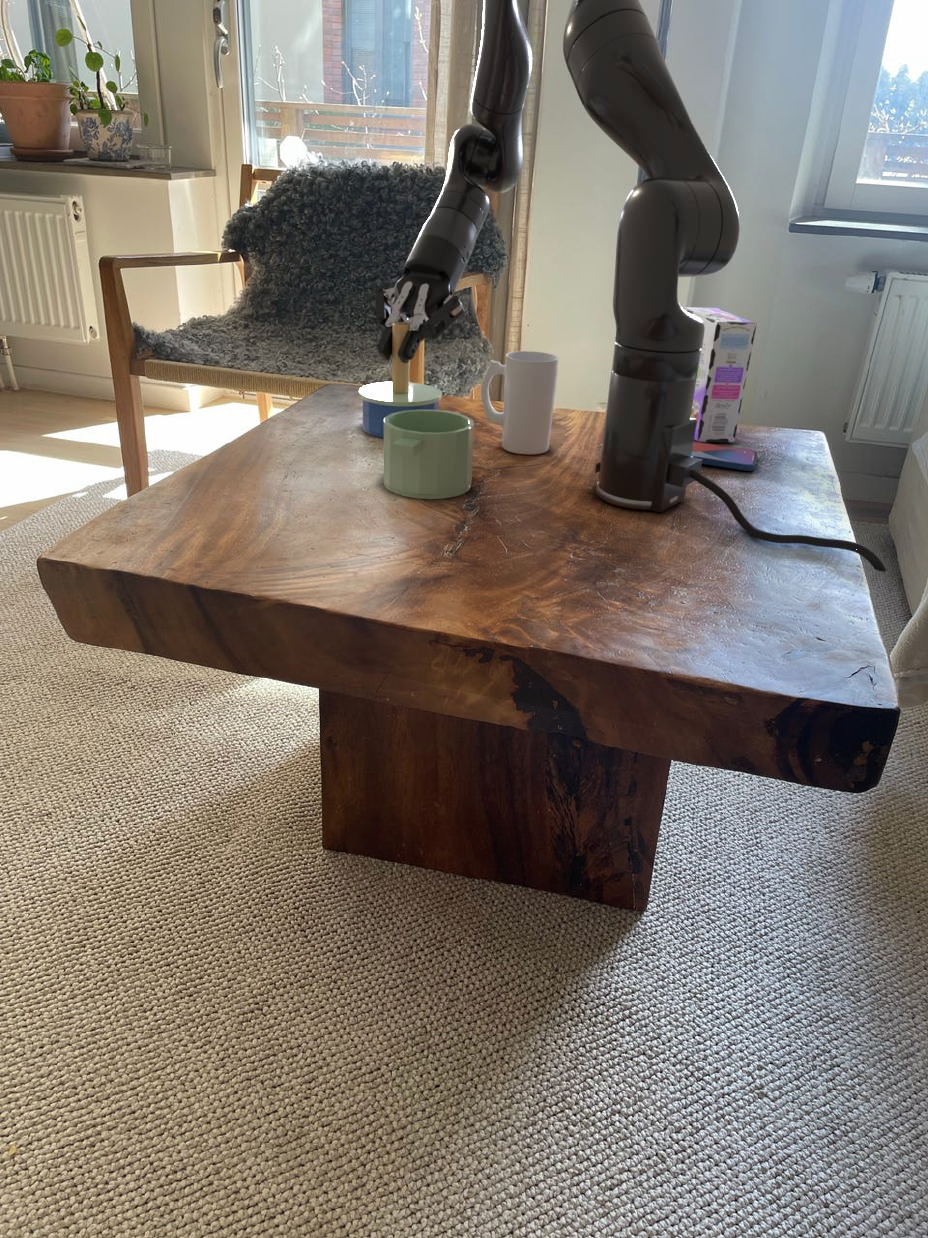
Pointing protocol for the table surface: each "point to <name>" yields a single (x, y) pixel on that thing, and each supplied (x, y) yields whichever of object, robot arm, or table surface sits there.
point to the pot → (428, 453)
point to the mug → (524, 400)
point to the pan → (377, 413)
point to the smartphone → (725, 456)
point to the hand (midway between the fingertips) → (392, 357)
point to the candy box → (721, 373)
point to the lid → (400, 380)
